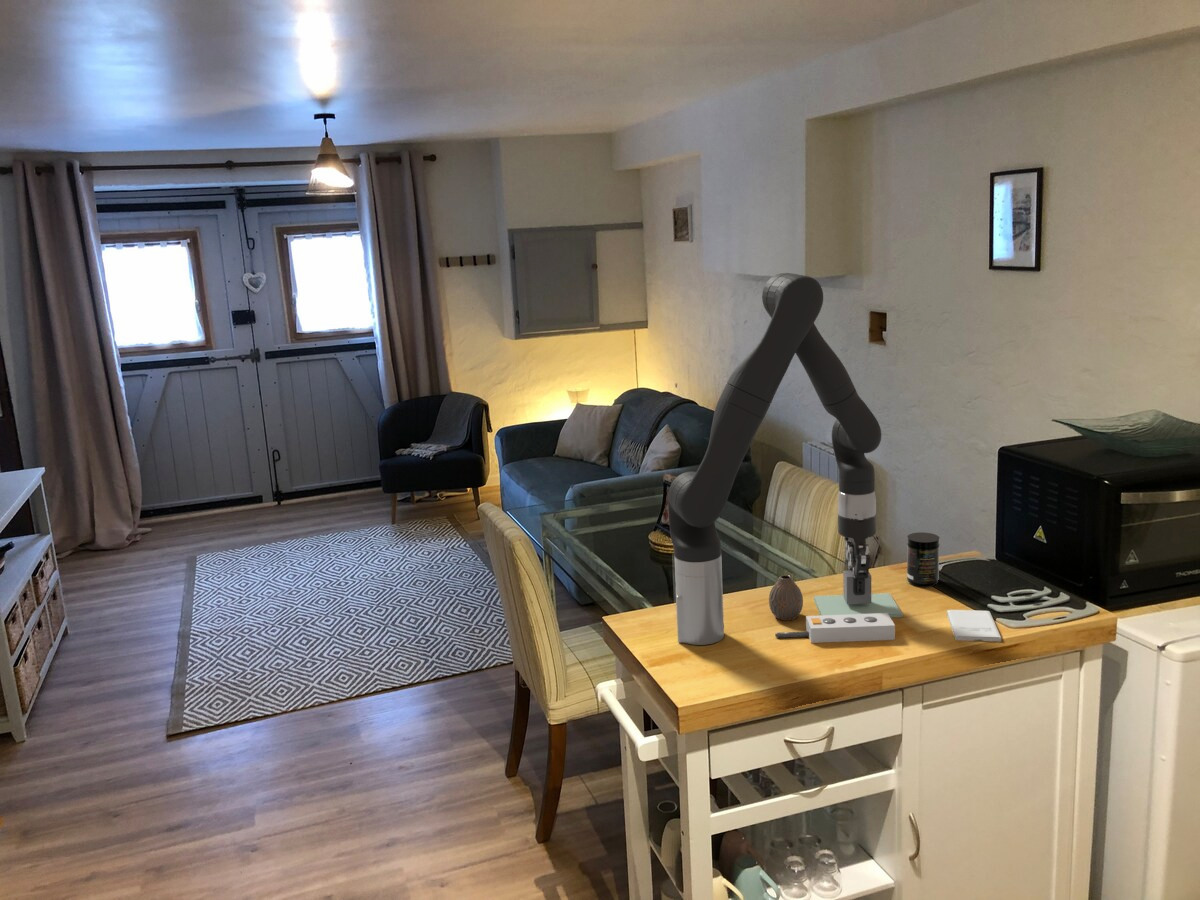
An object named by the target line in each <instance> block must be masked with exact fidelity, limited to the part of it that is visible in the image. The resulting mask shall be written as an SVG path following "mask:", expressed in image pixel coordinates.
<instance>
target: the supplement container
mask: <svg viewBox="0 0 1200 900" xmlns="http://www.w3.org/2000/svg"><path fill="white" fill-rule="evenodd" d="M940 539H941V538H940V536H939V535H937V534H935V533H931V532H913V533H909V534H908V535H907V537H906V540H907V541H906V542H907V543H906V545H907V547H906V549H907V550H906V551H907V552H906V553H907V554H906V579H907V580H906V581H907V582H908V583H909V584H910V585H913V586H915V587H920V588H928V587H933V586H935V584H936V585H937V584H938V583H939V581H938V580H940V577H939V575H940V571H939V569H940V568H939V567H940V546H941V545H940V544H941V543H940V541H941V540H940Z"/></svg>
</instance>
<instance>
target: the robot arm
mask: <svg viewBox="0 0 1200 900" xmlns="http://www.w3.org/2000/svg"><path fill="white" fill-rule="evenodd" d="M761 293H762V295H761V299H762V304H763V305H762V306H763V307H764V310H765V312H767V314H768V315H769V317H770V318H771V319H770V321H769V324H768V325H767V328H766V330H765V332H764V334H763V336H762V338H761V339H760V341H759V343H757V345H756V346H755V347H754V349H752V350H751V352H750V353H749V354H748V355H746V357H745V358H744V359H743V360H742V361H741V362H740V363H739V364H738V365H737V367H736V368H734V370H733V372H732V373H731V375H730V376H729V378H728V379H727V381H726V384H725V386H724V388H723V390H722V392H721V394H720V396H719V398H718V399H717V400H718V401H717V404H716V405H715V408H714V412H713V418H712V422H711V428H710V435H709V441H708V445H707V448H706V451H705V454H704V456H703V458H702V461H701V463H700V464H699V466H698V468H697V470H696V471H685V472H682V473H680V474H679V475H678V476H676V477H675V478H674V480H673V481H672V482H671V484H670V486H669V489H668V492H667V493H668V494H667V508H668V509H667V510H668V523H669V535H670V539H671V543H672V546H673V547H672V548H673V557H674V559H673V560H674V579H675V606H676V608H675V609H676V626H677V627H676V630H677V643H684V644H689V645H694V646H695V645H697V646H706V645H712V644H716V643H718V642H720V641H721V640H722V639H723V638H724V637H725V623H724V597H723V594H724V593H723V592H724V591H723V569H722V568H723V565H722V560H723V559H722V543H721V539H720V537H719V534H718V532H717V528H716V523H715V521H717V520H718V519H719V518H720V516H721V514H722V513H723V512H724V509H725V507H726V505H727V502H728V499H729V496H730V493H731V491H732V488H733V485H734V482H735V480H736V476H737V474H738V472H739V469H740V466H741V464H743V463H742V462H743V461H744V459H745V456H746V454H747V452H748V450H749V449H750V447H751V445H752V442H753V440H754V438H755V437H756V434H757V432H758V430H759V428H760V427H761V424H763V421H764V419H765V417H766V415H767V412H768V410H769V408H770V407H771V404H772V402H773V399H774V398H775V396H776V394H777V393H776V392H777V390H778V389H779V388H780V384H781V383H782V381H783V378H785V377H784V376H785V375H786V373H787V370H788V368H789V366H790V364H791V362H792V360H793V358H794V356H795V355H796V356H797V358H798V360H799V362H800V363H801V365H802V366H803V369H804V370H805V372H806V374H807V376H808V378H809V380H810V382H811V384H812V386H813V388H814V391H815V392H816V394H817V397H818V398H819V400H820V401H819V402H821V405H822V406H823V408H824V410H825V411H826V413H828V414H829V415H831V416H832V417H834V419H836V420H835V421H834V423H833V425H832V429H831V443H832V448H833V453H834V457H835V461H836V465H837V468H838V496H837V497H838V498H837V532H838V535H840V536H841V537H843V538H844V543H845V545H844V546H845V557H846V558H845V559H846V560H845V561H846V564H847V568H848V571H849V570H853V583H854V594H855V595H864V594H865V578H868V573H870V572H869V571H870V562H871V556H870V554H868V553H869V551H870V550H869V548H870V547H869V544H868V543H867V542H866V540H867V539H868V538H871V537H873V536H875V535H876V532H877V498H876V493H875V492H876V490H875V489H876V487H875V486H876V485H875V484H876V483H875V475H876V474H875V467H874V465H873V464H872V463H871V462H870V460H868V459H867V457H866V456H865V454H869V453H870V454H871V453H872V452H874V451H875V450H876V449H878V447H879V446H880V444H881V442H882V429H881V425H880V423H879V421H878V420H877V417H876V416H875V415H874V414H873V412H872V411H871V409H870V408H869V407H868V404H866V403H865V401H864V400H863V399H862V398H861V397H860V395H859V394H858V391H857V388H856V387H855V385H854V383H853V381H852V379H851V377H850V374H849V372H848V370H847V368H846V367H845V365H844V363H842V361H841V359H840V358H839V357H838V355H837V354H836V352H834V350H833V349H832V347H830V345H829V344H828V343H827V341H826V340H825V338H824V337H823V336H822V334H821V332H820V331H819V329H818V328H817V326H816V324H815V322H816V320H817V318H818V316H819V314H820V313H821V310H822V306H823V303H824V292H823V288H822V285H821V284H820V283H819V281H818V280H817V279H815V278H814V277H811V276H808V275H803V274H797V273H789V272H784V273H783V272H782V273H778V274H775V275H773V276H772V277H770V278H769V279H768V280H767V281H766V282H765V284H764V286H763V290H762V292H761ZM859 571H863V572H859Z"/></svg>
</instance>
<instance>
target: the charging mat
mask: <svg viewBox="0 0 1200 900" xmlns="http://www.w3.org/2000/svg"><path fill="white" fill-rule="evenodd" d="M813 601H814V603H815V606H816V609H817V610H818V613H819V616H820V615H847V614H873V613H888V614H889V616H890V618H891V619H892V618H903V612H902V611H901V608H900V607H899V605H898V604H897V603H896V601H895V600H894V598H893V597H892V594H891V593H890V592H884V593H881V592H879V593H871V603H865V604H847V603H846V601H845V599H844V594H833V595H832V594H830V595H829V594H828V595H814V596H813Z"/></svg>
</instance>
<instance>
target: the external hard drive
mask: <svg viewBox="0 0 1200 900" xmlns="http://www.w3.org/2000/svg"><path fill="white" fill-rule="evenodd" d="M946 616H947V618H948V621H949V625H950V628H951V630H952V633H953V636H954V640H955V641H970V642H972V641H973V642H974V641H980V642H981V641H982V642H1002V636H1001V635H1000V631H999V629H998V627H997V624H996V623H995V620H994V618H993V616H992V614H991V611H989V610H976V609H975V610H969V609H947V610H946Z"/></svg>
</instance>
